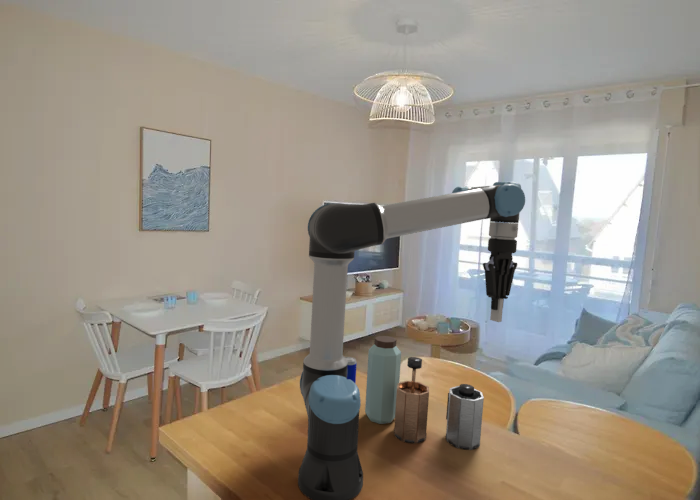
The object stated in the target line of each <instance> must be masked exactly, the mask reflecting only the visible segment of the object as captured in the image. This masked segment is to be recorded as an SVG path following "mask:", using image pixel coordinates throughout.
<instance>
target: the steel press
mask: <svg viewBox="0 0 700 500" xmlns="http://www.w3.org/2000/svg"><path fill="white" fill-rule="evenodd" d="M459 386H460V385H456V386H453V387H449V391H448V393H447V404H446V415H445V420H446V431H445V441H446V443H448V444H449V445H450V446H452V447H454V448H456V449H458V450H459V449H460V450H464V451H465V450H466V451H472V450H476V449H478V448H479V447H480V446H481V436H482V422H483V410H484V400H485V398H484V395H483V392H482V391H481V390H478V389H475V388H474V396H472V397H468V399H464V396H462V395H460V394H459Z"/></svg>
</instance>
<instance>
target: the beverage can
mask: <svg viewBox="0 0 700 500" xmlns="http://www.w3.org/2000/svg"><path fill="white" fill-rule="evenodd" d="M344 357H345V358H346V359H347V361H348V368H347V379H350V380H352V381H353V382H354V383H355V384H356V380H357V378H356V377H357V365H358V364H357V359H356V358H355V357H352V356H344Z"/></svg>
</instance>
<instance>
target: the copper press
mask: <svg viewBox="0 0 700 500" xmlns="http://www.w3.org/2000/svg"><path fill="white" fill-rule="evenodd" d="M411 384H412V380H405V381H399V383H398V384H397V395H396V410H395V418H394V428H393V436H394V437H395V438H396V439H397V440H399V441H401V442H403V443H408V444H419V443H420V444H421V443H423V442H424V441H426V440H427V427H428V416H429V415H428V412H429V398H430V386H428V385H426V384H424V383H422V382H419V381H415V389H417V390H420V391H422V392H423V393H421V394H414V393H407V392H405V391H403V389H408V388H411Z"/></svg>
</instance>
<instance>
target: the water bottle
mask: <svg viewBox="0 0 700 500" xmlns="http://www.w3.org/2000/svg"><path fill="white" fill-rule="evenodd" d="M397 341H398V340H397V339H396V338H395V337H393V336H388V335H377V336H376V337H374V344H373V345H371V347H369V349H368V353H367V357H368V358H367V372H366V373H367V374H366V386H365V387H366V390H365V404H364V405H365V407H364V410H365V411H364V412H365V414H366V416H367V417H368V419H369V420H370V422H373V423H376V424H380V425H385V424H391V423H392V422H393V420H394V421H395V410H396V395H397V384H398V383H400V380H401V379H400V377H401V376H400V375H401V364H402V362H401V361H402V351H401V350H400V349H399V348H398V346H397Z"/></svg>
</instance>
